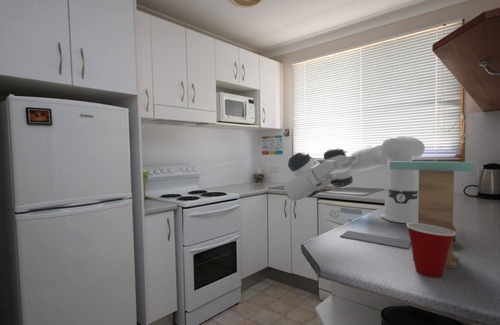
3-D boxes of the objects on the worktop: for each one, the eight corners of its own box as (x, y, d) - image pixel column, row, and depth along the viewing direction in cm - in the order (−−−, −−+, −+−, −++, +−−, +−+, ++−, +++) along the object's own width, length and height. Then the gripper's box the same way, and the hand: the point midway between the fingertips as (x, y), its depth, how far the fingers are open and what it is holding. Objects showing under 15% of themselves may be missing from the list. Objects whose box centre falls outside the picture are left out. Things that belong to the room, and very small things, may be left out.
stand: (417, 249, 87) (418, 169, 87) (456, 256, 81) (458, 169, 81) (413, 260, 78) (414, 170, 78) (456, 269, 72) (458, 171, 72)
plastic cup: (467, 281, 65) (468, 232, 65) (424, 283, 65) (425, 233, 64) (433, 263, 76) (434, 221, 76) (396, 264, 75) (397, 221, 75)
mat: (347, 231, 108) (347, 230, 108) (411, 242, 95) (411, 240, 95) (340, 237, 101) (340, 235, 101) (408, 249, 88) (408, 248, 88)
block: (392, 168, 88) (392, 161, 88) (471, 170, 76) (471, 162, 76) (389, 169, 85) (389, 161, 85) (472, 171, 73) (472, 162, 73)
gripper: (334, 181, 110) (365, 164, 103) (312, 185, 94) (347, 166, 87) (326, 167, 112) (356, 150, 105) (304, 169, 96) (337, 149, 88)
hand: (352, 157), depth 95 cm, fingers open, 8 cm apart
